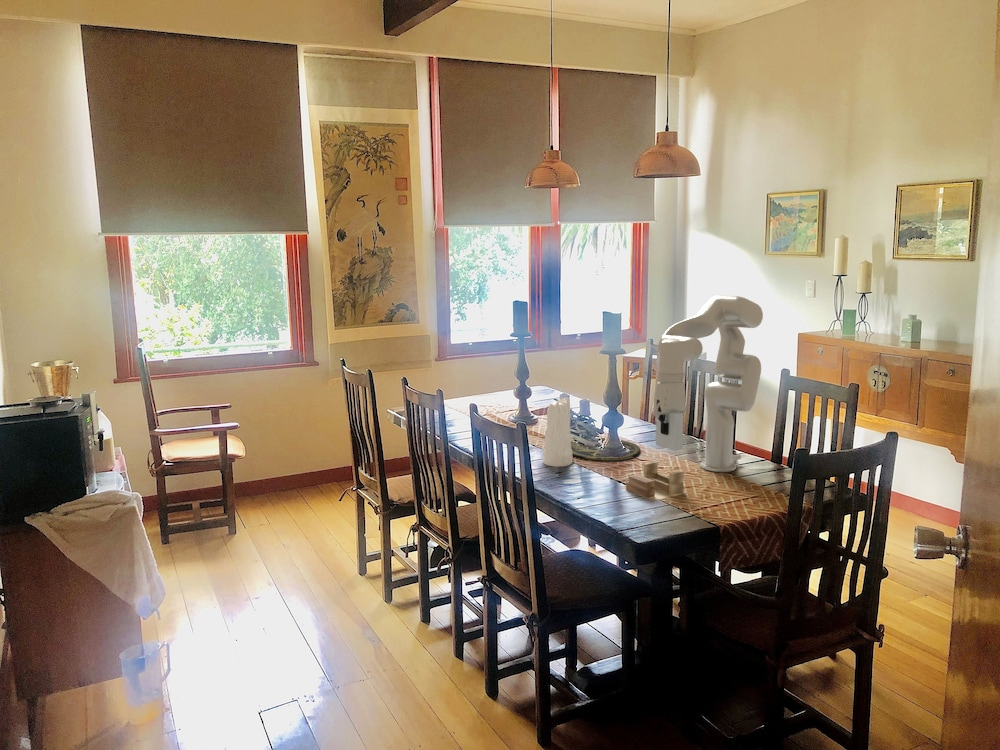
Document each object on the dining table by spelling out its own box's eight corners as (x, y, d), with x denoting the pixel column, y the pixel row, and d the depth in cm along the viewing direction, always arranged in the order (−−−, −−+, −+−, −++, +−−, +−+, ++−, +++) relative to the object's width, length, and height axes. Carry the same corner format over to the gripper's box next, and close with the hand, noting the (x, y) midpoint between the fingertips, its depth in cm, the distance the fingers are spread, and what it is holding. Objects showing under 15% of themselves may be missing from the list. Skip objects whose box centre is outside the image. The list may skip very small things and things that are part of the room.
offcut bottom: (634, 487, 258) (634, 480, 257) (654, 496, 249) (654, 488, 249) (625, 489, 256) (626, 482, 256) (646, 498, 248) (646, 490, 247)
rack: (654, 483, 266) (655, 460, 265) (687, 496, 253) (688, 472, 251) (620, 490, 259) (620, 466, 257) (652, 504, 245) (653, 479, 244)
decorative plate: (553, 440, 317) (621, 435, 325) (553, 445, 317) (621, 439, 325) (580, 461, 289) (654, 454, 297) (580, 466, 289) (654, 459, 297)
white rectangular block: (663, 443, 260) (664, 407, 258) (682, 449, 252) (683, 412, 250) (655, 444, 258) (656, 409, 256) (674, 450, 250) (675, 414, 248)
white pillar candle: (541, 466, 287) (541, 399, 283) (544, 457, 298) (544, 393, 293) (571, 467, 286) (571, 400, 281) (573, 459, 296) (573, 394, 292)
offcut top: (636, 481, 256) (636, 474, 256) (654, 488, 250) (654, 480, 249) (628, 483, 254) (628, 476, 254) (646, 490, 248) (646, 482, 247)
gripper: (682, 373, 258) (680, 427, 261) (643, 378, 250) (642, 434, 253) (698, 377, 252) (696, 432, 255) (658, 382, 244) (657, 439, 247)
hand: (669, 432), depth 254 cm, fingers closed on white rectangular block, 3 cm apart
